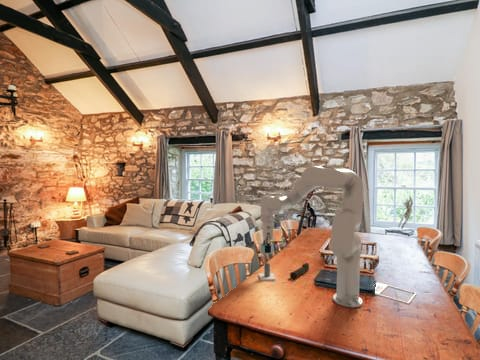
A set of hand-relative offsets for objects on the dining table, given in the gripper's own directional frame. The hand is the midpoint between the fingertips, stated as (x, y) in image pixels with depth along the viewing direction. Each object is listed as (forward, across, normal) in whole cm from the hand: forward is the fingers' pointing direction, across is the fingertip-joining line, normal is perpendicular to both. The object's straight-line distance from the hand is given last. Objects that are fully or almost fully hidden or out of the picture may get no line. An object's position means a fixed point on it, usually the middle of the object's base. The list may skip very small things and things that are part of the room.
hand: (266, 250), depth 156 cm
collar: (+1, 0, 0) cm, 1 cm away
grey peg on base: (+15, 0, 0) cm, 15 cm away
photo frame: (+15, -20, -58) cm, 64 cm away
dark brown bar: (+15, +5, -20) cm, 26 cm away
